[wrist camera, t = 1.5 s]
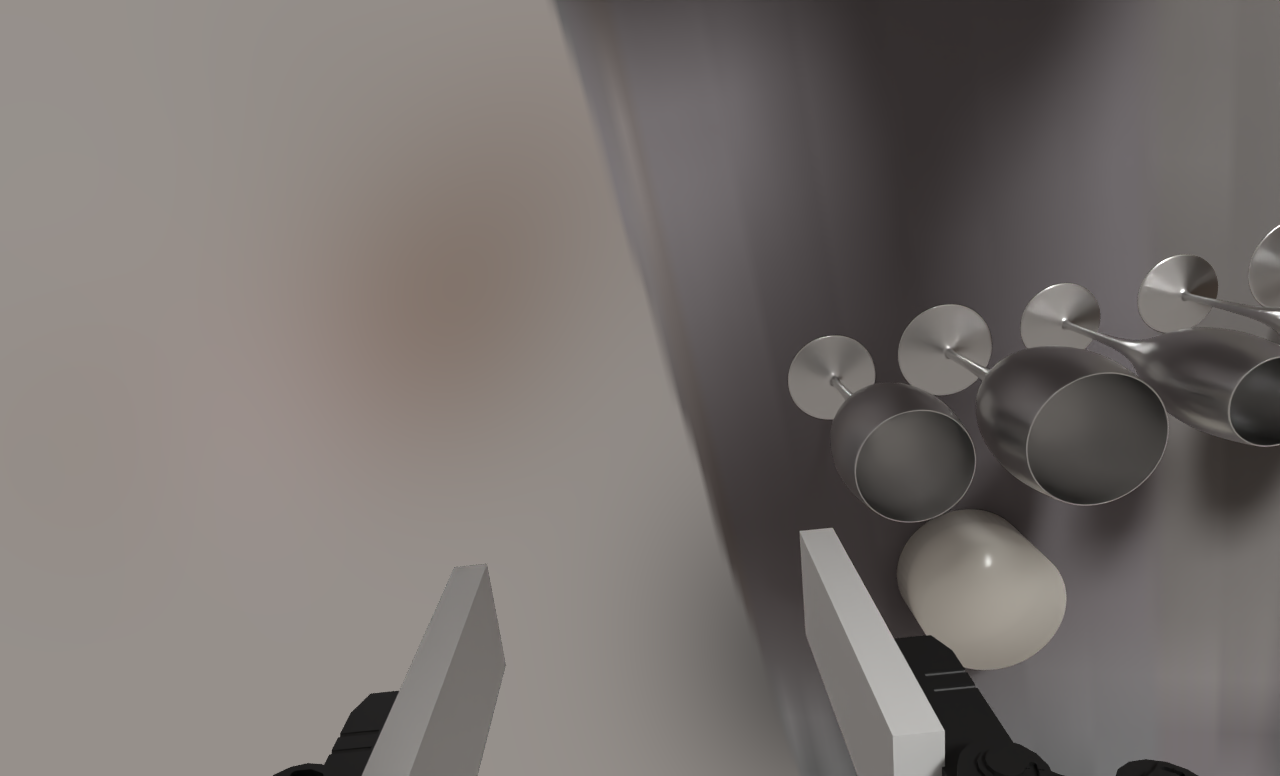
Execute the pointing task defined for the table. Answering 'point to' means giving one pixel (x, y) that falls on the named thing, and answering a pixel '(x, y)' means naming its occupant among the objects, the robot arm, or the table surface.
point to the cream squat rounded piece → (981, 588)
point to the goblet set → (1048, 392)
